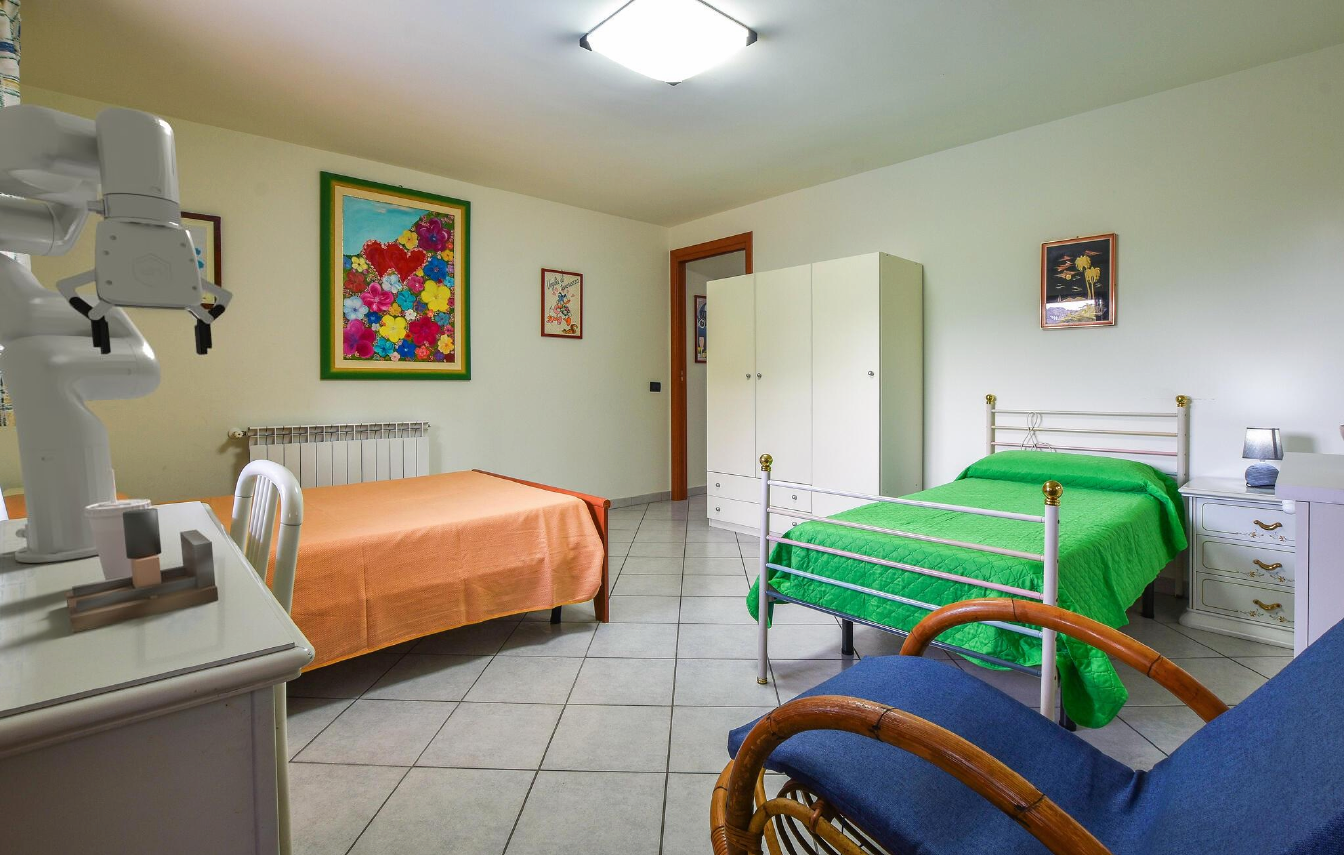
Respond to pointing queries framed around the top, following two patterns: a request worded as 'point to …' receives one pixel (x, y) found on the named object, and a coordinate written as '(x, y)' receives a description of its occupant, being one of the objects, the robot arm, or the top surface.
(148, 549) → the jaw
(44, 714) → the top surface
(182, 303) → the robot arm
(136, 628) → the top surface
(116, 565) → the smoothie
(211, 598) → the vise base
